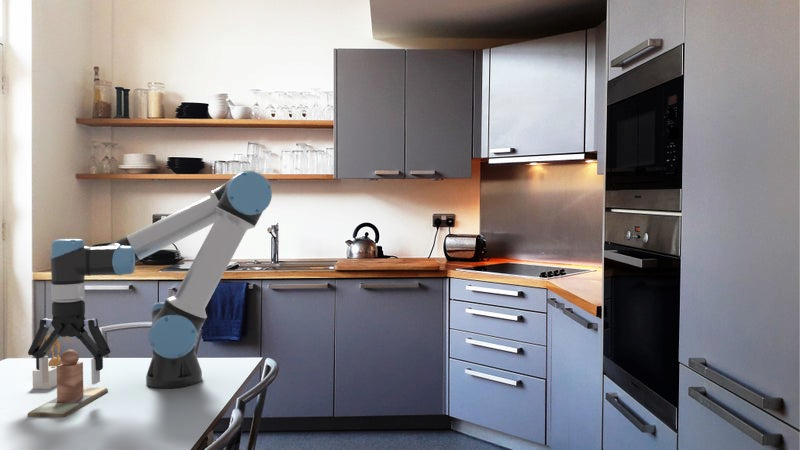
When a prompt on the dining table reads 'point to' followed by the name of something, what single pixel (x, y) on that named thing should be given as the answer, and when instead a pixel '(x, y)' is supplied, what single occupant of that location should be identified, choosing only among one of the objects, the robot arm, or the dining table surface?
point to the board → (67, 404)
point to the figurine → (57, 360)
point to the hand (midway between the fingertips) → (69, 382)
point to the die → (52, 378)
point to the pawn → (69, 377)
